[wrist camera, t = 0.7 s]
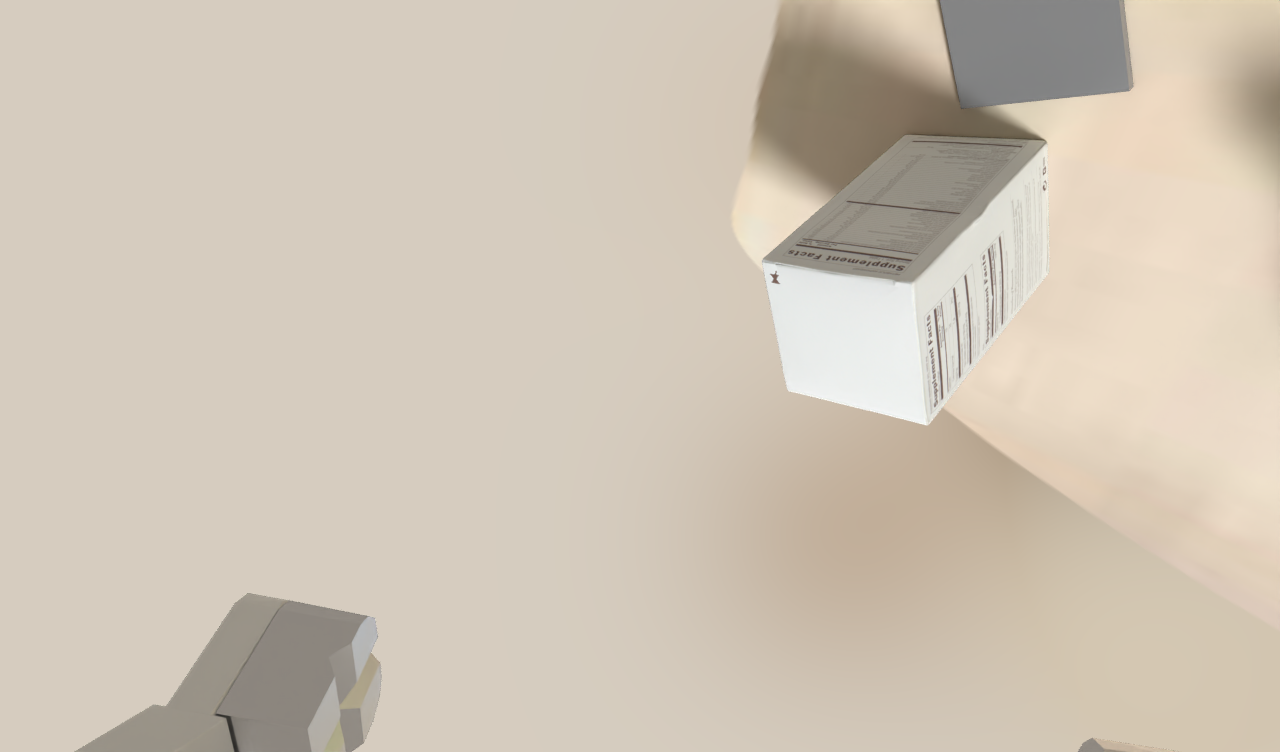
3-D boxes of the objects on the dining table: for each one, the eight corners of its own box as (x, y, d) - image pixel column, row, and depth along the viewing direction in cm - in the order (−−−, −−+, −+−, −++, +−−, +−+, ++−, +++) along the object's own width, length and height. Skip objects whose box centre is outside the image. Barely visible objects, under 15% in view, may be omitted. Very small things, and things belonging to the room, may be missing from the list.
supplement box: (914, 257, 67) (780, 393, 57) (901, 131, 62) (752, 258, 52) (1054, 276, 60) (929, 432, 51) (1052, 138, 55) (913, 283, 46)
